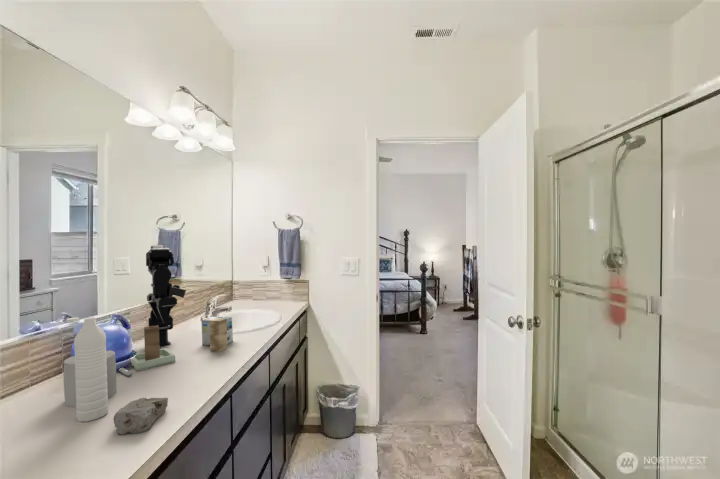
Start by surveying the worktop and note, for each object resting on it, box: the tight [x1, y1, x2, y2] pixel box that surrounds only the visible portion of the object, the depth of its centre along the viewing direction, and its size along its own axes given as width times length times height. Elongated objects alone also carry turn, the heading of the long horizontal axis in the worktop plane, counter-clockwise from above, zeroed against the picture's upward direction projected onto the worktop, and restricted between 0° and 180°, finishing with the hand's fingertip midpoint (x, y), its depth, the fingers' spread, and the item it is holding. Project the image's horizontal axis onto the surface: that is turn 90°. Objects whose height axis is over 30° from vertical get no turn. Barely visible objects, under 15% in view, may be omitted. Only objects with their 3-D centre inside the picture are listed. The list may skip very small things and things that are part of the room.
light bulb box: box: [201, 316, 234, 346], centre depth 153 cm, size 11×7×11 cm, turn 84°
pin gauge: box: [118, 367, 133, 377], centre depth 120 cm, size 8×1×1 cm, turn 53°
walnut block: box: [143, 325, 161, 361], centre depth 131 cm, size 4×4×12 cm
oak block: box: [209, 318, 228, 352], centre depth 144 cm, size 4×4×12 cm
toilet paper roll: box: [63, 349, 118, 408], centre depth 103 cm, size 12×12×12 cm
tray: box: [130, 347, 176, 372], centre depth 131 cm, size 12×12×2 cm
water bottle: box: [66, 316, 109, 423], centre depth 92 cm, size 9×6×25 cm
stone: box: [112, 397, 169, 436], centre depth 88 cm, size 13×6×10 cm
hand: (162, 321), depth 139 cm, fingers open, 9 cm apart
